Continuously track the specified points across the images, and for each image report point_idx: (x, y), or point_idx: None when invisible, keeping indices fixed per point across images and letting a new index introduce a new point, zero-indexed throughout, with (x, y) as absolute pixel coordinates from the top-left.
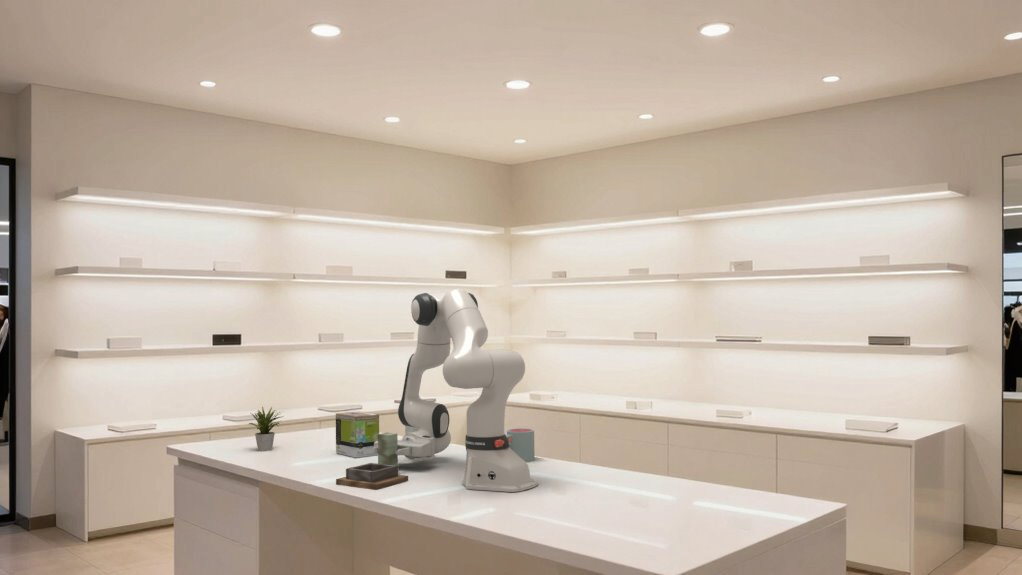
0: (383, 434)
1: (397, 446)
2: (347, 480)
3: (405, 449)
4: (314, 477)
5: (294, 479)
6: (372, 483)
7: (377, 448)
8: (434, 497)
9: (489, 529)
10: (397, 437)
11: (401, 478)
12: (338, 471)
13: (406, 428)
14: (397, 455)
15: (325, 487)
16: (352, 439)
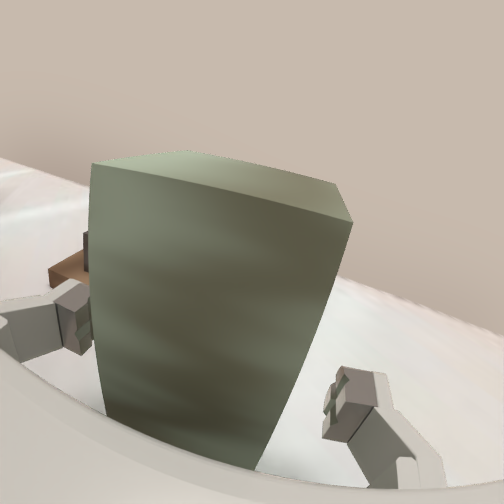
0: (268, 169)
1: (96, 344)
2: None
3: (18, 304)
4: (411, 327)
5: (424, 308)
6: None
7: (340, 369)
8: (23, 201)
9: (12, 162)
10: (88, 231)
11: (73, 257)
12: (444, 410)
13: None
14: (109, 414)
15: None
16: None
